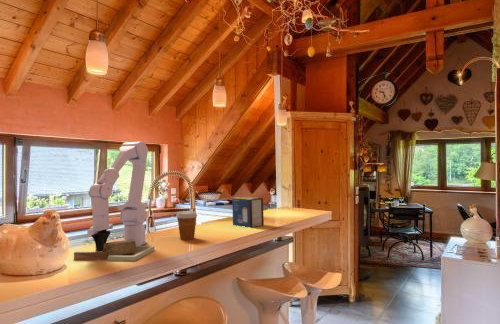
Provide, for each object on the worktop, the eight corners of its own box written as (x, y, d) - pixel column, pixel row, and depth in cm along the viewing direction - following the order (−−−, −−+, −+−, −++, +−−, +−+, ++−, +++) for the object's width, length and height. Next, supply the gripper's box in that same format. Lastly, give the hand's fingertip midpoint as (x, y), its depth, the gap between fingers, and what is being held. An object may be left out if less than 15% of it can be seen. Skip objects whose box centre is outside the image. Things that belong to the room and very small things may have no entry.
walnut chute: (97, 249, 145) (97, 243, 145) (125, 250, 143) (125, 243, 143) (74, 259, 130) (73, 252, 130) (105, 259, 128) (105, 252, 128)
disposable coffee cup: (172, 240, 162) (172, 213, 162) (182, 236, 171) (182, 211, 171) (192, 241, 159) (191, 214, 160) (201, 237, 168) (200, 211, 169)
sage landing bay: (130, 249, 144) (130, 245, 144) (154, 249, 143) (154, 246, 143) (107, 260, 127) (107, 256, 127) (135, 260, 126) (135, 256, 126)
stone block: (136, 253, 137) (136, 240, 137) (105, 258, 130) (105, 244, 130) (132, 251, 141) (131, 238, 141) (101, 255, 135) (101, 242, 135)
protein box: (246, 222, 211) (245, 196, 212) (264, 225, 200) (263, 197, 200) (232, 224, 205) (231, 197, 205) (249, 227, 193) (249, 199, 193)
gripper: (101, 212, 144) (101, 246, 144) (79, 217, 130) (79, 255, 130) (117, 212, 144) (117, 246, 143) (97, 217, 129) (98, 255, 129)
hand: (101, 250), depth 136 cm, fingers closed
